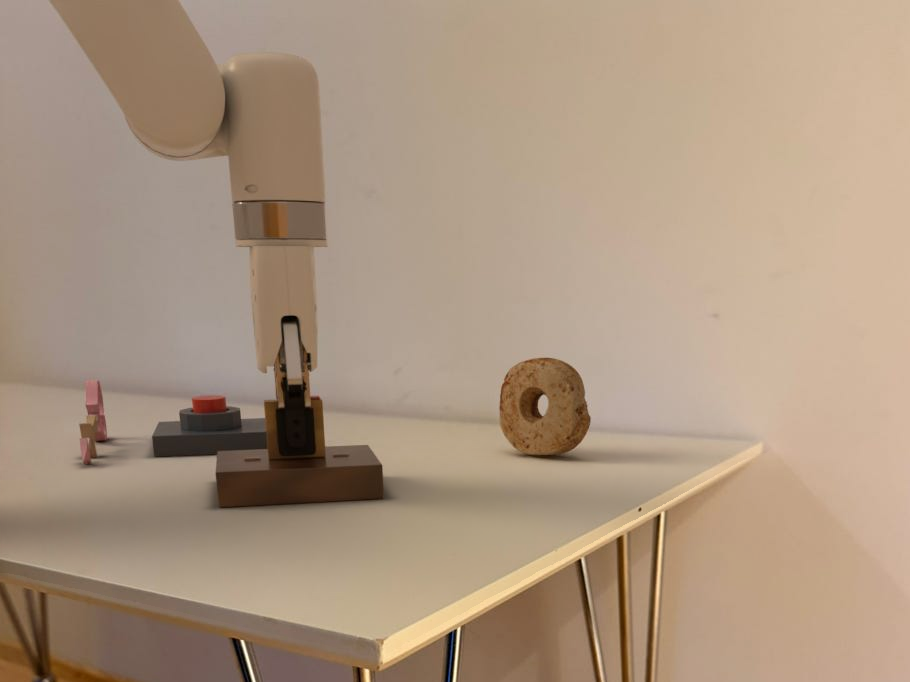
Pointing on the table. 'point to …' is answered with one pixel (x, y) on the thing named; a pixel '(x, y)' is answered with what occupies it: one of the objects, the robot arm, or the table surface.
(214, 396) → the button
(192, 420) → the confirm box
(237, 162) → the robot arm
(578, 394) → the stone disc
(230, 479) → the plate
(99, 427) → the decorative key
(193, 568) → the table surface
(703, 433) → the table surface
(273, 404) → the thumbturn
